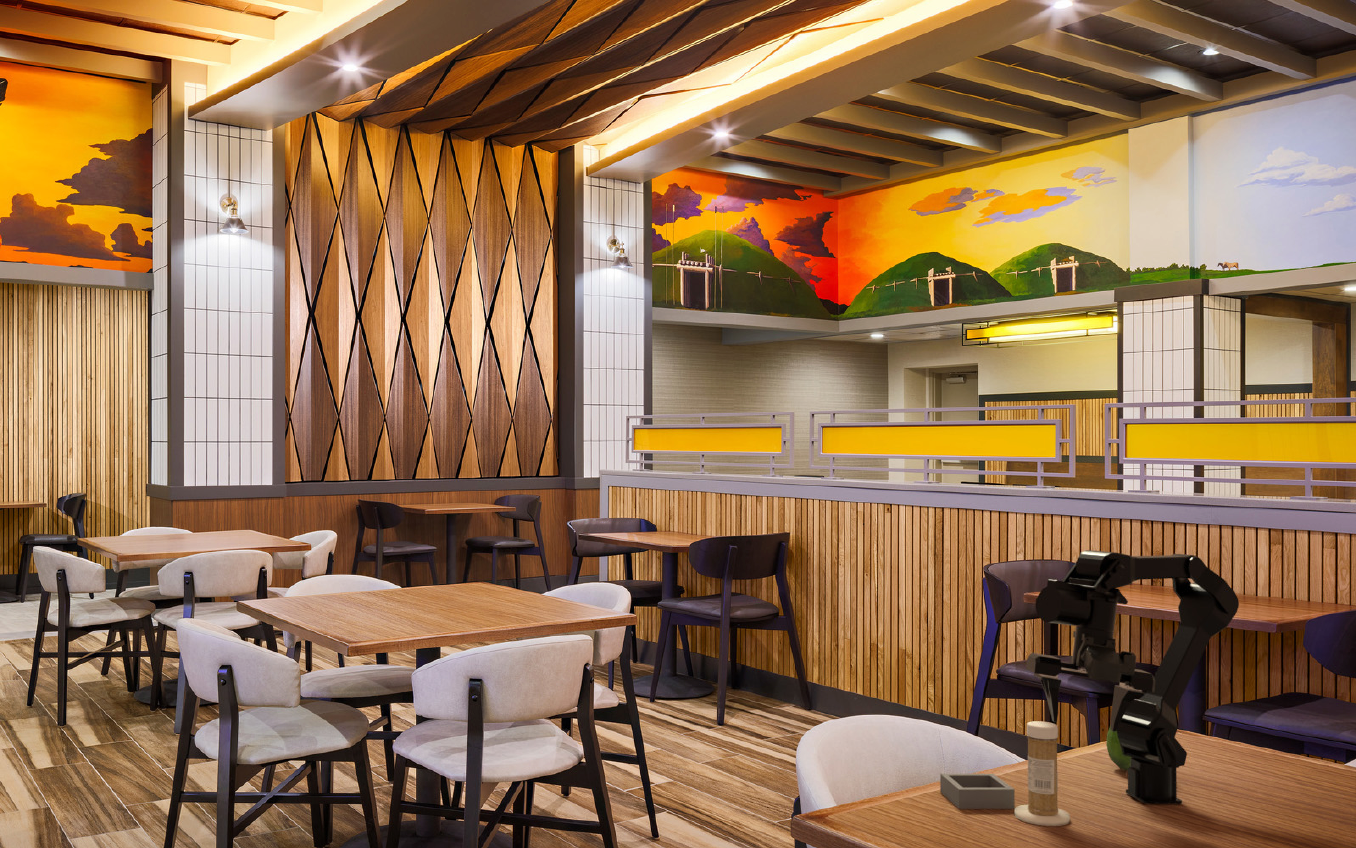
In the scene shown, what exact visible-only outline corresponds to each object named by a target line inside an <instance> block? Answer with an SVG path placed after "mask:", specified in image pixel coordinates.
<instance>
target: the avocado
mask: <svg viewBox="0 0 1356 848" xmlns="http://www.w3.org/2000/svg"><path fill="white" fill-rule="evenodd" d="M1105 745H1106V748H1107V753H1108V757H1109V759H1110V760H1111V762H1113V763H1114V764H1115V765H1116V766H1117V767H1118V768H1119V769H1120V770H1122V771H1125V772H1128V768H1129V767H1131V764H1130V758H1133V757H1129V756H1125V755H1123V753H1122V749H1121V746H1120V742H1119V739H1118V735H1117V732H1116V731H1115V732H1113V731H1111V725H1110V726H1109V728H1108V731H1107V734H1106V743H1105Z"/></svg>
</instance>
